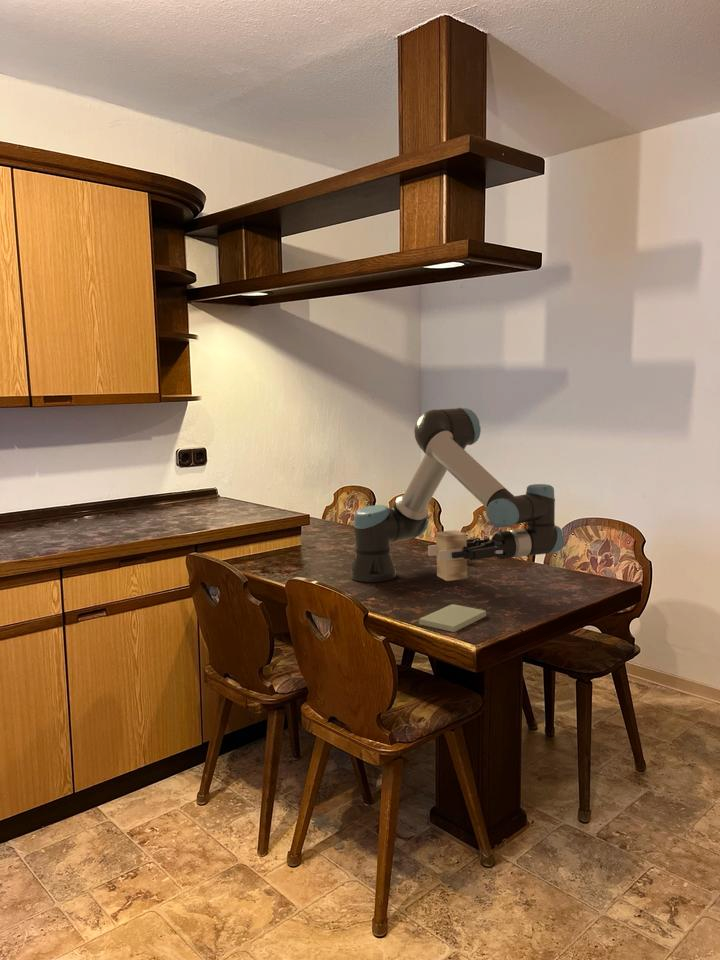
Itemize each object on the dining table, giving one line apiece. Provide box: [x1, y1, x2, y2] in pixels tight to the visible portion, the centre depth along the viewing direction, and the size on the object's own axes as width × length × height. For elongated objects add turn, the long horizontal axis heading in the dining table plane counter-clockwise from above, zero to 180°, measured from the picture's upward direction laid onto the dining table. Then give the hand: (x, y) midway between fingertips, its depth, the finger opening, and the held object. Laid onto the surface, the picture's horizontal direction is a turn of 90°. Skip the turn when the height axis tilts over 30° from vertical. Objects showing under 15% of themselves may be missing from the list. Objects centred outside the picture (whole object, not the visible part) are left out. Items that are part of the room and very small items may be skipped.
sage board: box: [418, 603, 487, 633], centre depth 197 cm, size 16×11×2 cm
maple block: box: [435, 529, 468, 582], centre depth 195 cm, size 6×6×12 cm
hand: (434, 553), depth 193 cm, fingers closed on maple block, 6 cm apart
